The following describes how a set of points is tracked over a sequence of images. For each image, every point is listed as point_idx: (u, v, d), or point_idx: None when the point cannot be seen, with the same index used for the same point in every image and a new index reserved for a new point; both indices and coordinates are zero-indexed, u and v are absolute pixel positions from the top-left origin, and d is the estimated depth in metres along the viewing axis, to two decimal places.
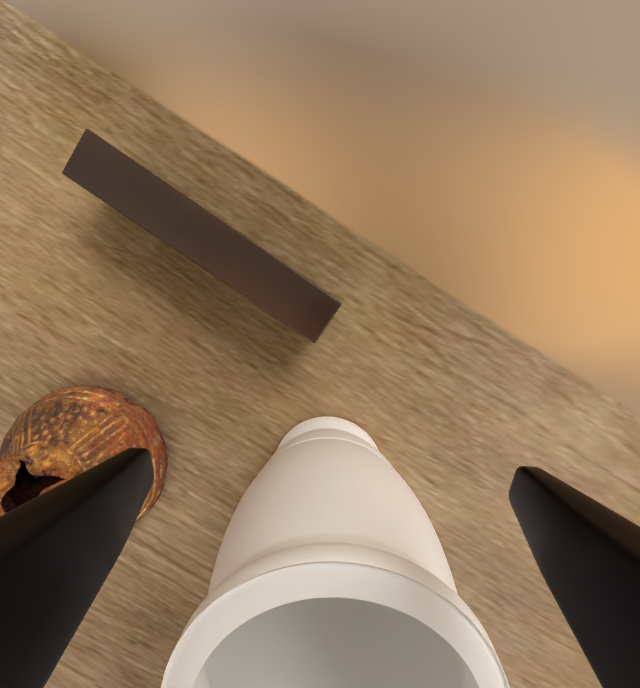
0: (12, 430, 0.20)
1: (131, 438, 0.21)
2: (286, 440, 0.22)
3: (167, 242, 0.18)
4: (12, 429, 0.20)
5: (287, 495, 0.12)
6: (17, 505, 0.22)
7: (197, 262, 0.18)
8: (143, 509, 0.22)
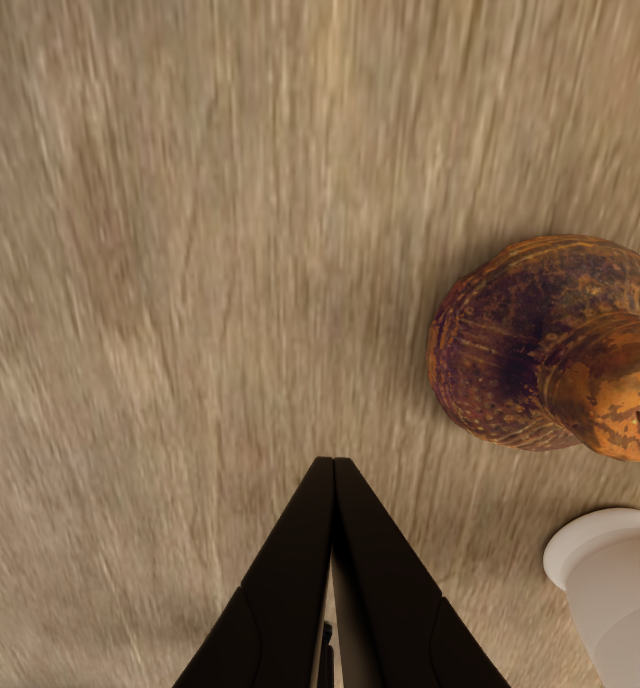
0: (624, 265, 0.12)
1: None
2: None
3: None
4: (623, 262, 0.12)
5: None
6: (458, 306, 0.14)
7: None
8: None
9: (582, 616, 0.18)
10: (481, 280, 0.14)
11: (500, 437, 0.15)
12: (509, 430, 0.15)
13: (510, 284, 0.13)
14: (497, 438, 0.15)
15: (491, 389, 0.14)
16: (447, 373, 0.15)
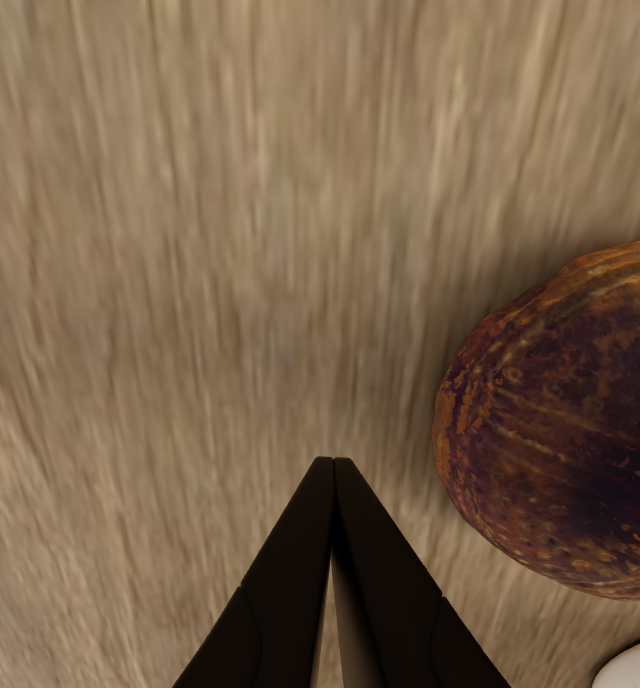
0: None
1: None
2: None
3: None
4: None
5: None
6: (492, 364, 0.08)
7: None
8: None
9: None
10: (536, 319, 0.08)
11: (559, 579, 0.09)
12: (578, 578, 0.08)
13: (597, 332, 0.07)
14: (551, 578, 0.09)
15: (554, 518, 0.08)
16: (470, 474, 0.09)
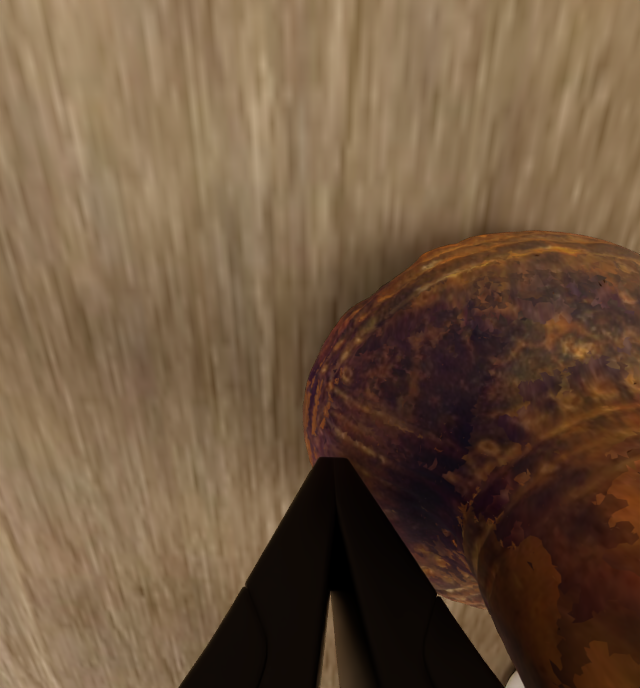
0: None
1: None
2: None
3: None
4: None
5: None
6: (333, 363, 0.08)
7: None
8: None
9: None
10: (369, 317, 0.07)
11: None
12: None
13: (412, 329, 0.06)
14: None
15: None
16: None
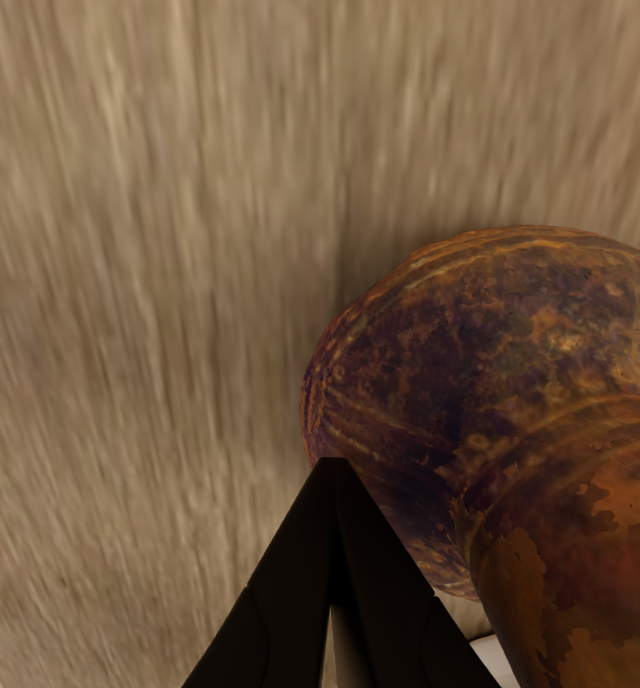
0: (631, 284, 0.06)
1: None
2: None
3: None
4: (628, 279, 0.06)
5: None
6: (326, 362, 0.08)
7: None
8: None
9: None
10: (360, 315, 0.07)
11: None
12: (429, 580, 0.08)
13: (402, 327, 0.07)
14: None
15: None
16: None
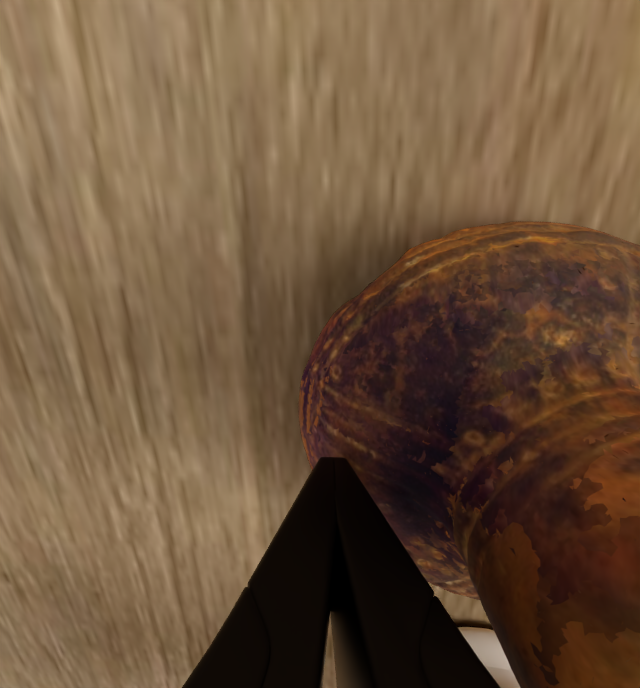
0: (625, 278, 0.06)
1: None
2: (491, 652, 0.13)
3: None
4: (622, 273, 0.06)
5: None
6: (324, 361, 0.08)
7: None
8: None
9: None
10: (356, 314, 0.07)
11: None
12: (430, 578, 0.08)
13: (396, 325, 0.07)
14: None
15: (384, 516, 0.07)
16: None
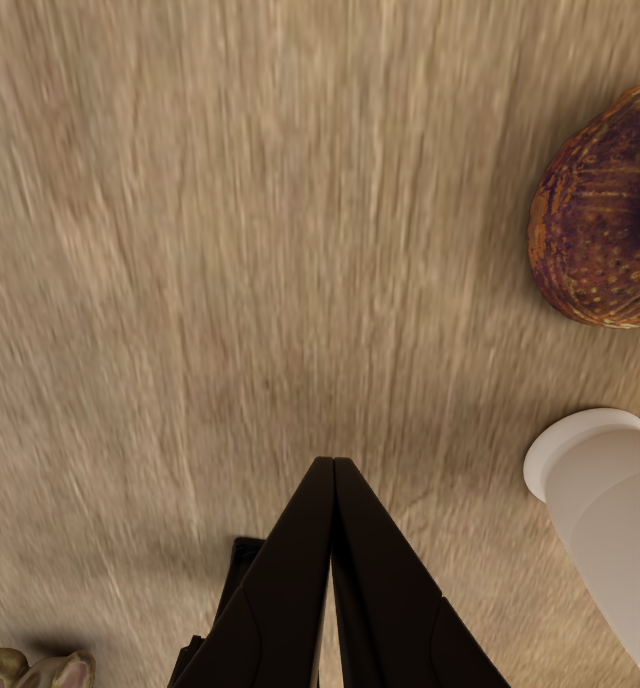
0: None
1: None
2: (621, 417, 0.19)
3: None
4: None
5: None
6: (574, 160, 0.13)
7: None
8: (629, 326, 0.16)
9: (559, 509, 0.17)
10: (601, 125, 0.13)
11: (621, 305, 0.14)
12: (634, 291, 0.14)
13: None
14: (616, 307, 0.14)
15: (619, 241, 0.13)
16: (561, 239, 0.14)
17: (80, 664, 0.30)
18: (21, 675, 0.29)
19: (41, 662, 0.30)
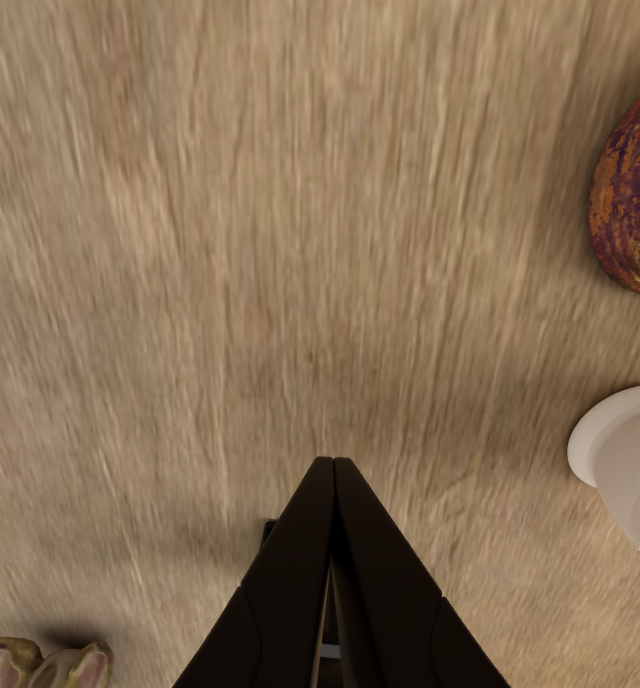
0: None
1: None
2: None
3: None
4: None
5: None
6: None
7: None
8: None
9: (615, 484, 0.17)
10: None
11: None
12: None
13: None
14: None
15: None
16: (630, 201, 0.14)
17: (97, 656, 0.29)
18: (36, 667, 0.28)
19: (56, 653, 0.29)
